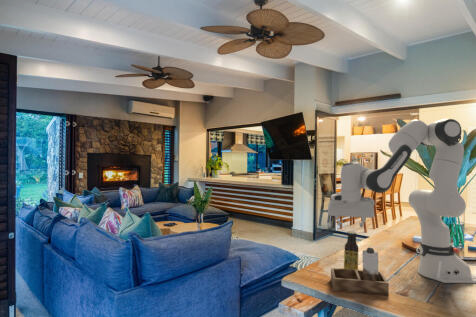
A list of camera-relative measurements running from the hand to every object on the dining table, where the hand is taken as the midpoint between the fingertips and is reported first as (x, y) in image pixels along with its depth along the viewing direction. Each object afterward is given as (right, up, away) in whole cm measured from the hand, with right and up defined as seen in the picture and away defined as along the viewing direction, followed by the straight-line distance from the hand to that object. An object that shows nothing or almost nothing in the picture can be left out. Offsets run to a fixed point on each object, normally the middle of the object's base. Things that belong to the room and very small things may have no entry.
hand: (350, 226), depth 138 cm
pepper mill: (+3, -23, -14) cm, 27 cm away
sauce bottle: (0, -23, 0) cm, 23 cm away
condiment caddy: (-2, -23, -13) cm, 26 cm away
